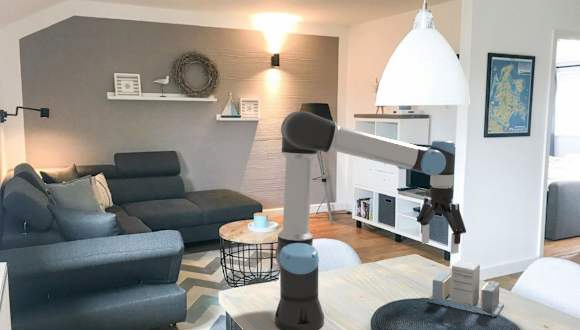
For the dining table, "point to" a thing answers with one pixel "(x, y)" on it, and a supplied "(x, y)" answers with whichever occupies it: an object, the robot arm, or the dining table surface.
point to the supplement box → (465, 283)
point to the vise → (488, 298)
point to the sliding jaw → (441, 286)
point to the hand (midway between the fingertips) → (439, 248)
